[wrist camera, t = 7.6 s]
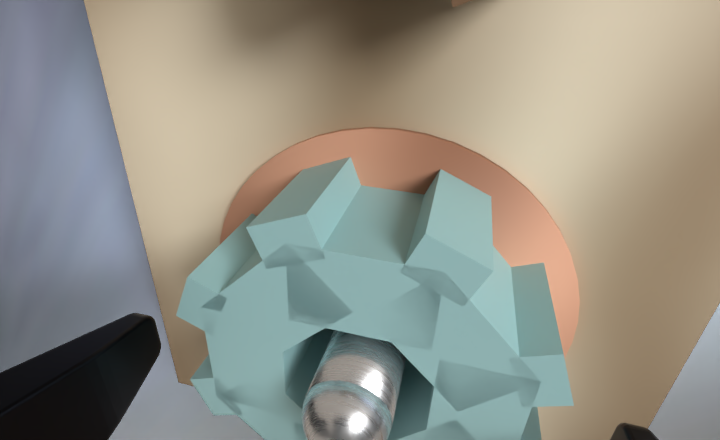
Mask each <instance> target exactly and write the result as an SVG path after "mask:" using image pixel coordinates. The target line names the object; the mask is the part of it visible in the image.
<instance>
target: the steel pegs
mask: <svg viewBox="0 0 720 440" xmlns="http://www.w3.org/2000/svg"><path fill="white" fill-rule="evenodd" d="M405 361H406V357H405V356H404V355H403V354H402V353H401V352H400V351H399V350H398V349H397V348H396V346H395V345H394V344H393V343H392V342H388V341H383V340H378V339H374V338H369V337H365V336H360V335H355V334H351V333H346V332H342V331H337V330H334V331H333V334H332V336H331V338H330V341H329V343H328V345H327V347H326V350H325V352H324V354H323V357H322V359H321V361H320V364H319V366H318V368H317V371H316V373H315V375H314V377H313V380H312V382H311V384H310V387H309V389H308V391H307V394H306V396H305V399H304V403H303V408H302V424H303V430H304V433H305V436H306V438H307V440H387V439H388V437H389V434H390V431H391V428H392V424H393V419H394V414H395V409H396V405H397V400H398V395H399V390H400V385H401V381H402V376H403V371H404V366H405Z"/></svg>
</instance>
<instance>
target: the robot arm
mask: <svg viewBox="0 0 720 440" xmlns="http://www.w3.org/2000/svg"><path fill="white" fill-rule="evenodd" d="M160 349H161V342H160V339H159V335H158V331H157V327H156V323H155V320H154V319H153V318H152V317H151V316H148V315H144V314H139V313H132V314H129V315H127V316H125V317H122V318H120V319H118V320H116V321H114V322H111V323H109V324H107V325H105V326H103V327H100V328H98V329H96V330H94V331H92V332H89V333H87V334H85V335H83V336H81V337H78V338H76V339H74V340H72V341H70V342H67V343H65V344H63V345H61V346H58V347H56V348H54V349H52V350H50V351H47V352H45V353H43V354H41V355H39V356H36V357H34V358H32V359H30V360H28V361H25V362H23V363H21V364H19V365H17V366H14V367H12V368H10V369H8V370H5V371H3V372H1V373H0V440H108V439H109V437H110V436H111V434H112V433H113V431H114V430H115V428H116V427H117V426H118V424H119V423H120V421H121V419H122V418H123V416H124V414H125V413H126V411H127V409H128V408H129V406H130V404H131V403H132V401H133V399H134V397H135V396H136V394H137V392H138V390H139V389H140V387H141V385H142V384H143V382H144V380H145V378H146V377H147V375H148V373H149V371H150V370H151V368H152V366H153V364H154V363H155V361H156V359H157V358H158V356H159V353H160ZM610 440H658V439H657V437H656V436H655V435H654V434H653V433H652V432H651V431H650V430H649V429H647V428H645V427H642V426H638V425H633V424H629V423H620V424H618V426H617V427H616V429H615V431H614V433H613V435H612V436H611V438H610Z"/></svg>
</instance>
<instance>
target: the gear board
mask: <svg viewBox="0 0 720 440" xmlns="http://www.w3.org/2000/svg"><path fill="white" fill-rule="evenodd" d="M84 3H85V7H86V11H87V15H88V19H89V23H90V27H91V31H92V35H93V39H94V43H95V47H96V51H97V55H98V59H99V63H100V67H101V72H102V76H103V80H104V84H105V88H106V92H107V96H108V100H109V104H110V108H111V112H112V116H113V120H114V124H115V128H116V132H117V136H118V140H119V144H120V148H121V152H122V156H123V160H124V164H125V168H126V172H127V176H128V180H129V184H130V188H131V193H132V197H133V201H134V205H135V209H136V213H137V217H138V221H139V225H140V229H141V233H142V237H143V241H144V245H145V249H146V253H147V257H148V261H149V265H150V269H151V273H152V277H153V281H154V285H155V289H156V293H157V297H158V301H159V305H160V310H161V314H162V318H163V322H164V326H165V330H166V334H167V338H168V342H169V346H170V350H171V354H172V358H173V362H174V366H175V370H176V374H177V378H178V382H179V383H183V384H187V385H191V386H194V385H193V384H192V382H191V380H190V379H191V377H192V376H193V375H194V373H195V372H196V371H197V369H198V368H199V367H200V365H201V364H202V363H203V361H204V360H205V359H206V357H207V356H208V354H209V351H208V346H207V340H206V334H205V331H203V330H202V329H200V328H198V327H196V326H194V325H192V324H190V323H189V322H187V321H185V320H183V319H181V318H179V317H178V316H176V314H177V310H178V307H179V304H180V300H181V297H182V293H183V290H184V287H185V283H186V280H187V277H188V276H189V275H190V274H191V273H192V272H193V271H194V270H195V269H196V268H197V267H198V266H199V265H200V264H201V263H202V262H203V261H204V260H205V259H206V258H207V257H208V256H209V255H210V254H211V253H212V252H213V251H214V250H215V249H216V248H217V247H218V246H219V245H220V244H221V243H222V242H223V241H224V240H225V239H226V238H227V237H228V236H229V235H230V234H231V233H232V232H233V231H234V230H235V229H237V228H238V227H239V226H240V225H241V224H242V223H243V222H244V221H245V220H246V219H247V218H248V217H249V216H250V215H251V214H254V215H256V216H258V215H259V214H260V213H261V212H262V211H263V210H264V209H265V208H266V207H267V206H268V204H269V203H270V202H271V201H272V200H273V199H274V198H275V197H276V196H277V195H278V194H279V193H280V192H281V191H282V190H283V189H284V188H285V187H286V186H287V185H288V184H289V183H290V182H291V181H292V180H293V179H294V178H295V177H296V176H297V175H298V174H299V173H300V172H301V171H302V170H303V169H307V168H310V167H314V166H318V165H322V164H325V163H329V162H333V161H337V160H340V159H344V158H348V157H351V159H352V162H353V165H354V168H355V170H356V173H357V176H358V178H359V181H360V184H361V185H363V186H369V187H376V188H383V189H390V190H397V191H403V192H410V193H417V194H425V193H426V191H427V190H428V188H429V186H430V185H431V183H432V182H433V180H434V179H435V177H436V175H437V174H438V172H439V171H440V169H442V170H444V171H445V172H447V173H449V174H451V175H453V176H455V177H456V178H458V179H460V180H462V181H464V182H466V183H467V184H469V185H471V186H473V187H475V188H477V189H478V190H480V191H482V192H484V193H486V194H487V195H489V196H491V204H492V234H493V246H494V247H495V248H496V250H497V251H498V252H499V253H500V254H501V256H502V257H503V258H504V259H505V261H506V262H507V263H508V264H509V265H510V267H515V266H522V265H529V264H536V263H544V265H545V270H546V275H547V279H548V284H549V289H550V293H551V298H552V303H553V307H554V312H555V317H556V321H557V326H558V331H559V335H560V340H561V344H562V349H563V354H564V359H565V364H566V369H567V374H568V379H569V383H570V388H571V393H572V398H573V403H574V406H547V407H538V415H539V423H540V431H541V439H542V440H610V438H611V436H612V435H613V433H614V431H615V429H616V427H617V426H618V424H620V423H629V424H633V425H638V426H642V427H645V428H647V429H648V427H649V426H650V424H651V422H652V420H653V419H654V417H655V415H656V413H657V412H658V410H659V408H660V406H661V405H662V403H663V401H664V399H665V398H666V396H667V394H668V392H669V391H670V389H671V387H672V385H673V384H674V382H675V380H676V378H677V377H678V375H679V373H680V371H681V370H682V368H683V366H684V364H685V363H686V361H687V359H688V357H689V356H690V354H691V352H692V350H693V349H694V347H695V345H696V343H697V342H698V340H699V338H700V336H701V335H702V333H703V331H704V329H705V328H706V326H707V324H708V322H709V321H710V319H711V317H712V315H713V314H714V312H715V310H716V308H717V307H718V305H719V303H720V0H472V1H469V2H466V3H464V4H461V5H458V6H456V7H453V6H452V2H451V0H84Z"/></svg>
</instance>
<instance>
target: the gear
mask: <svg viewBox="0 0 720 440" xmlns="http://www.w3.org/2000/svg"><path fill="white" fill-rule="evenodd" d="M469 1H472V0H451V2H452V6H453V7H456V6H458V5H461V4H464V3H466V2H469Z"/></svg>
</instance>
